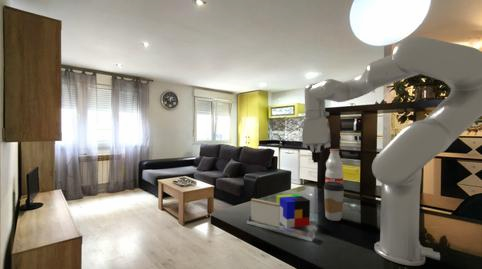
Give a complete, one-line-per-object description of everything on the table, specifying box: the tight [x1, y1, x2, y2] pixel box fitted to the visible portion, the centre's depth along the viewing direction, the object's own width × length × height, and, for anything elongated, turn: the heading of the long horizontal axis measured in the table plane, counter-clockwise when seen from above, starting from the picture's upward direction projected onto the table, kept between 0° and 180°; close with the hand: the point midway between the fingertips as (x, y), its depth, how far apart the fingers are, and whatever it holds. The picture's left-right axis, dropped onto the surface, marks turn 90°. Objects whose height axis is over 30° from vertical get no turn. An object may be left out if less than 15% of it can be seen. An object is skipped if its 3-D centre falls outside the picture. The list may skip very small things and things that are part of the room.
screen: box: [250, 198, 281, 227], centre depth 88 cm, size 12×1×8 cm, turn 56°
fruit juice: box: [324, 148, 344, 185], centre depth 130 cm, size 9×9×28 cm
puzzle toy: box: [275, 193, 311, 228], centre depth 94 cm, size 10×10×10 cm
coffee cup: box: [323, 181, 345, 222], centre depth 98 cm, size 8×8×15 cm
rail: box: [246, 213, 316, 243], centre depth 85 cm, size 26×4×3 cm, turn 56°
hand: (316, 162), depth 89 cm, fingers closed
